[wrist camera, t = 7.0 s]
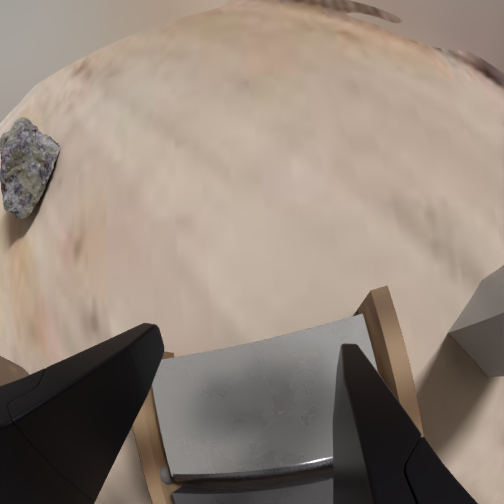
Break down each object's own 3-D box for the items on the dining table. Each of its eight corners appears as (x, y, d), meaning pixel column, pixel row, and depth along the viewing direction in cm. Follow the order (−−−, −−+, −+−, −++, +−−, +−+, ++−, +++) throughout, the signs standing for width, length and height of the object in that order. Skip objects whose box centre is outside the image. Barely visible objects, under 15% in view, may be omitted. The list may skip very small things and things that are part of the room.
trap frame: (407, 484, 14) (430, 513, 9) (199, 518, 16) (169, 548, 11) (369, 306, 20) (387, 285, 15) (162, 354, 22) (120, 348, 17)
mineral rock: (33, 228, 31) (-21, 192, 22) (7, 212, 34) (-36, 182, 25) (81, 147, 35) (39, 101, 25) (48, 144, 38) (12, 108, 29)
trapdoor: (393, 487, 12) (404, 504, 9) (197, 517, 13) (180, 533, 11) (358, 318, 17) (365, 310, 14) (162, 362, 18) (139, 360, 15)
